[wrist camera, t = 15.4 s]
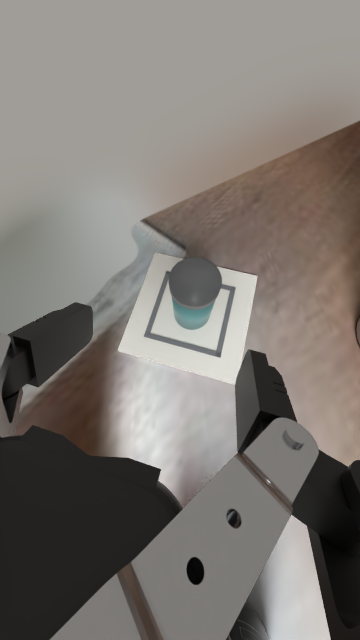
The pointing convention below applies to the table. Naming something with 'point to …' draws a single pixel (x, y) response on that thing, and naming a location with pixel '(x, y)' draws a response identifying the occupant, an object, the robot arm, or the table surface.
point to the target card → (183, 344)
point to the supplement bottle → (248, 626)
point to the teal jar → (194, 291)
